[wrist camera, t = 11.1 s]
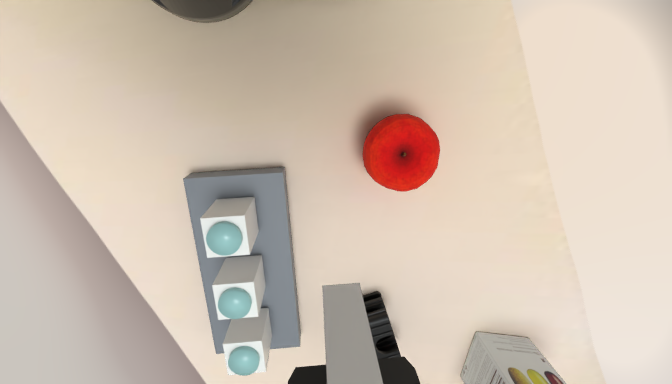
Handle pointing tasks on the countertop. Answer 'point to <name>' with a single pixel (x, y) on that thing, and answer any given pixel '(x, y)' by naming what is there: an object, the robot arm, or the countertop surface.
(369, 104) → the countertop surface
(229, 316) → the button mid
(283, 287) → the mount
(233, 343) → the button far
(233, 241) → the button near
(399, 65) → the countertop surface
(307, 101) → the countertop surface
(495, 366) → the supplement box
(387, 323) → the end cap
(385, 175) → the apple
